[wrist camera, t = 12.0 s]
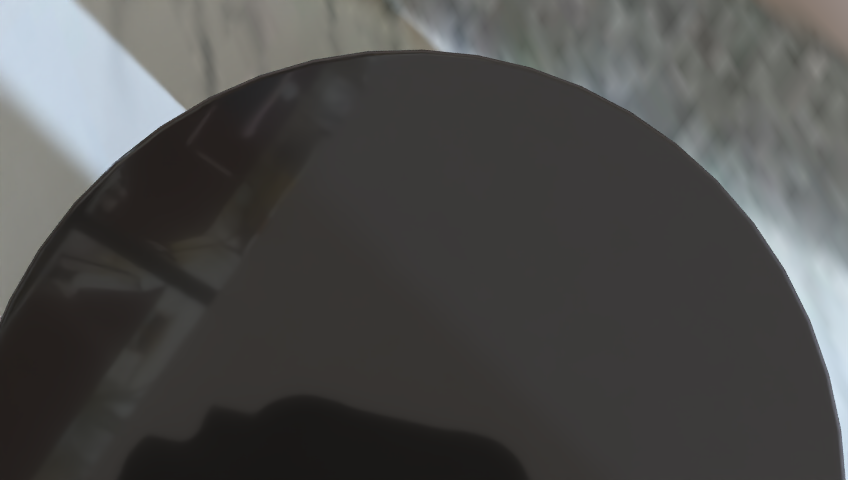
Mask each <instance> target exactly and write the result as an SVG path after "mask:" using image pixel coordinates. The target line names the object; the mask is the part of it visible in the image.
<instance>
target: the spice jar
mask: <svg viewBox="0 0 848 480" xmlns="http://www.w3.org/2000/svg"><path fill="white" fill-rule="evenodd" d="M0 480H845V469H844V457H843V446H842V435H841V428H840V423H839V418H838V414H837V409H836V405H835V400H834V395H833V391H832V386H831V381H830V377H829V373H828V370H827V367H826V364H825V362H824V359H823V356H822V353H821V350H820V347H819V344H818V342H817V339H816V336H815V333H814V330H813V327H812V324H811V322H810V319H809V317H808V315H807V313H806V311H805V309H804V307H803V305H802V303H801V301H800V299H799V297H798V295H797V293H796V291H795V289H794V287H793V285H792V283H791V281H790V279H789V277H788V275H787V273H786V271H785V269H784V268H783V266H782V265H781V263H780V262H779V260H778V259H777V257H776V256H775V254H774V253H773V251H772V250H771V248H770V247H769V245H768V244H767V242H766V241H765V239H764V238H763V236H762V235H761V233H760V232H759V230H758V229H757V227H756V226H755V224H754V223H753V221H752V220H751V219H750V218H749V217H748V216H747V214H746V213H745V212H744V211H743V210H742V209H741V208H740V206H739V205H738V204H737V203H736V202H735V201H734V199H733V198H732V197H731V196H730V195H729V194H728V192H727V191H726V190H725V189H724V188H723V187H722V186H721V184H720V183H719V182H718V181H717V180H716V179H715V178H714V177H713V176H712V175H710V174H709V173H708V172H707V171H706V170H705V169H704V168H703V167H702V166H700V165H699V164H698V163H697V162H696V161H695V160H694V159H693V158H692V157H691V156H689V155H688V154H687V153H686V152H685V151H684V150H683V149H682V148H681V147H679V146H678V145H677V144H676V143H675V142H673V141H672V140H670V139H669V138H667V137H666V136H665V135H663V134H662V133H660V132H659V131H657V130H656V129H654V128H653V127H652V126H650V125H649V124H647V123H646V122H644V121H643V120H642V119H640V118H639V117H637V116H636V115H634V114H633V113H631V112H630V111H628V110H626V109H624V108H622V107H620V106H618V105H616V104H614V103H613V102H611V101H609V100H607V99H605V98H603V97H601V96H599V95H597V94H595V93H593V92H591V91H590V90H588V89H586V88H584V87H582V86H579V85H577V84H574V83H571V82H568V81H566V80H563V79H560V78H558V77H555V76H552V75H550V74H547V73H544V72H541V71H539V70H536V69H533V68H531V67H526V66H522V65H518V64H513V63H509V62H505V61H500V60H496V59H492V58H487V57H483V56H479V55H471V54H461V53H451V52H441V51H431V50H395V51H367V52H360V53H354V54H347V55H341V56H335V57H328V58H322V59H315V60H311V61H308V62H304V63H301V64H297V65H294V66H291V67H287V68H284V69H280V70H277V71H273V72H270V73H266V74H263V75H260V76H258V77H255V78H253V79H251V80H248V81H246V82H244V83H241V84H239V85H237V86H235V87H232V88H230V89H228V90H225V91H223V92H221V93H218V94H216V95H214V96H211V97H209V98H208V99H206V100H204V101H202V102H201V103H199V104H197V105H196V106H194V107H192V108H191V109H189V110H187V111H186V112H184V113H182V114H181V115H179V116H177V117H176V118H174V119H172V120H171V121H169V122H167V123H165V124H164V125H162V126H160V127H159V128H158V129H157V130H155V131H154V132H153V133H151V134H150V135H149V136H148V137H146V138H145V139H144V140H142V141H141V142H140V143H139V144H137V145H136V146H135V147H133V148H132V149H131V150H130V151H128V152H127V153H126V154H125V155H123V156H122V157H121V158H119V159H118V160H117V161H116V162H114V163H113V164H112V165H111V167H110V168H109V169H108V170H107V171H106V172H105V173H104V174H103V175H102V176H101V177H100V178H99V179H98V180H97V181H96V182H95V183H94V184H93V185H92V186H91V187H90V188H89V189H88V190H87V191H86V192H85V193H84V194H83V195H82V196H81V197H80V198H79V199H78V200H77V201H76V202H75V203H74V204H73V205H72V207H71V208H70V209H69V211H68V212H67V213H66V215H65V216H64V217H63V218H62V220H61V221H60V222H59V224H58V225H57V226H56V228H55V229H54V230H53V231H52V233H51V234H50V235H49V237H48V238H47V239H46V241H45V242H44V243H43V244H42V246H41V247H40V248H39V250H38V252H37V253H36V255H35V257H34V259H33V260H32V262H31V264H30V265H29V267H28V269H27V271H26V272H25V274H24V276H23V277H22V279H21V281H20V282H19V284H18V286H17V288H16V289H15V291H14V293H13V294H12V296H11V298H10V300H9V302H8V304H7V307H6V309H5V311H4V314H3V316H2V318H1V321H0Z"/></svg>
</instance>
